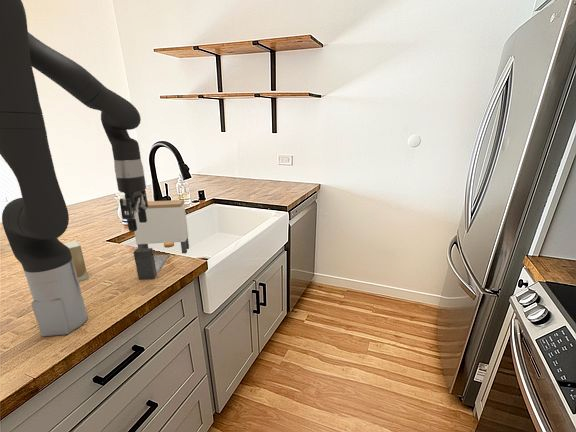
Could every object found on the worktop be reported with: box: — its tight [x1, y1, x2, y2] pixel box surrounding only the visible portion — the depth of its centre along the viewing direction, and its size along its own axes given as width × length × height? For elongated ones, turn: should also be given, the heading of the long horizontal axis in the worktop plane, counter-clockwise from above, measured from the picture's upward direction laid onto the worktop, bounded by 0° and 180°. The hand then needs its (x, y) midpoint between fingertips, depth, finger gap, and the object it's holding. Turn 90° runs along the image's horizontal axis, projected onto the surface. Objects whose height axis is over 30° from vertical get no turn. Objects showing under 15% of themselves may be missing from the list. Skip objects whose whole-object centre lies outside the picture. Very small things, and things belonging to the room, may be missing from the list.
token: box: [163, 242, 175, 248], centre depth 123 cm, size 4×4×1 cm
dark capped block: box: [133, 247, 169, 281], centre depth 103 cm, size 16×5×10 cm, turn 7°
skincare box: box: [63, 239, 89, 283], centre depth 96 cm, size 6×4×12 cm
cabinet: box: [132, 199, 190, 254], centre depth 114 cm, size 6×18×20 cm, turn 97°
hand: (138, 226), depth 92 cm, fingers open, 8 cm apart
